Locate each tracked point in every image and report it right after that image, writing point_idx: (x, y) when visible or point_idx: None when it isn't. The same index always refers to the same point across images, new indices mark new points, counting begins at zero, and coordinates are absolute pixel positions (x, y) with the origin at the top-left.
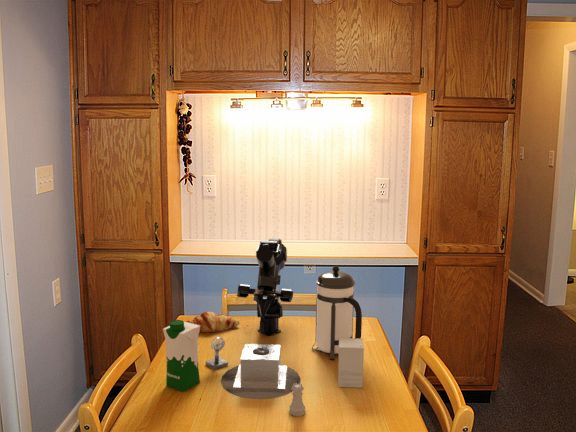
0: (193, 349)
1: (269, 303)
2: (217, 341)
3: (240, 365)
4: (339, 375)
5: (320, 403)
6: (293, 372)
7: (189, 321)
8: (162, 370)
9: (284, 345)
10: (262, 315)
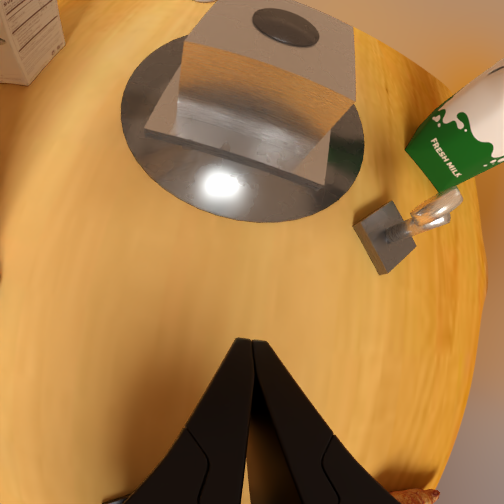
0: (473, 81)
1: (146, 485)
2: (447, 191)
3: (320, 176)
4: (59, 22)
5: (144, 6)
6: (131, 113)
7: (432, 502)
8: (470, 242)
9: (90, 380)
10: (260, 345)
